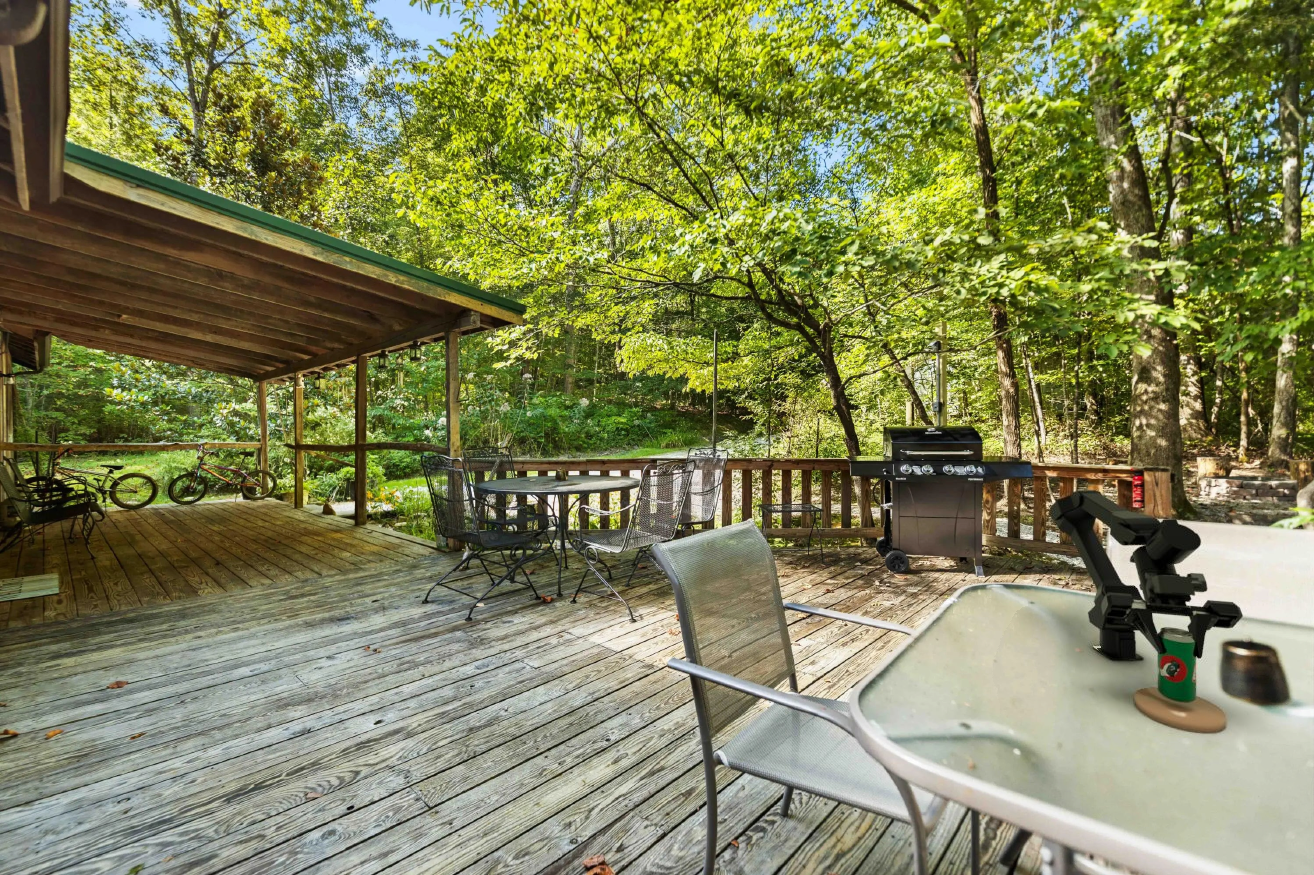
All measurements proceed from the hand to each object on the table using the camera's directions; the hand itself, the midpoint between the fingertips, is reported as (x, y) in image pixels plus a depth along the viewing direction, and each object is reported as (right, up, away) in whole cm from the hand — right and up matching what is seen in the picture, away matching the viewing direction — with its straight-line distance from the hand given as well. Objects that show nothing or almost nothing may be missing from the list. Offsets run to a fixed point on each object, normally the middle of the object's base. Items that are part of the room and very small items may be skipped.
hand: (1180, 655), depth 97 cm
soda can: (+1, -8, +2) cm, 9 cm away
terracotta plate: (+1, -11, +2) cm, 11 cm away
